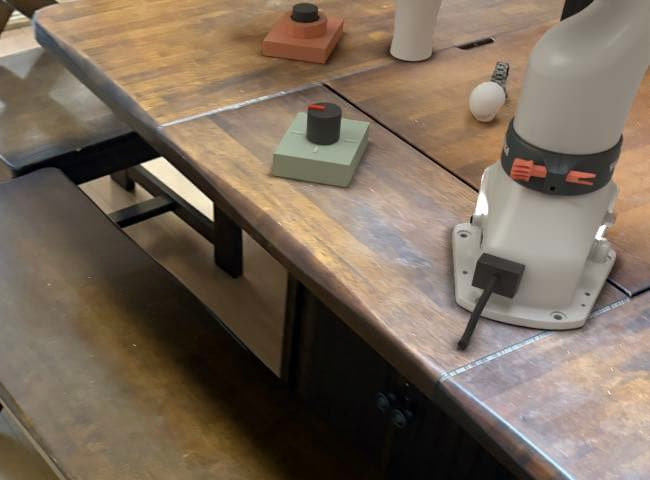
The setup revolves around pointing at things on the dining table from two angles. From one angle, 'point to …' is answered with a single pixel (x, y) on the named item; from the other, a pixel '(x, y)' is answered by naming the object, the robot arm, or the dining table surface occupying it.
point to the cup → (414, 28)
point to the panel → (321, 153)
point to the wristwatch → (501, 75)
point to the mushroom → (486, 101)
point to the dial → (323, 123)
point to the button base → (303, 38)
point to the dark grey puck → (305, 13)
